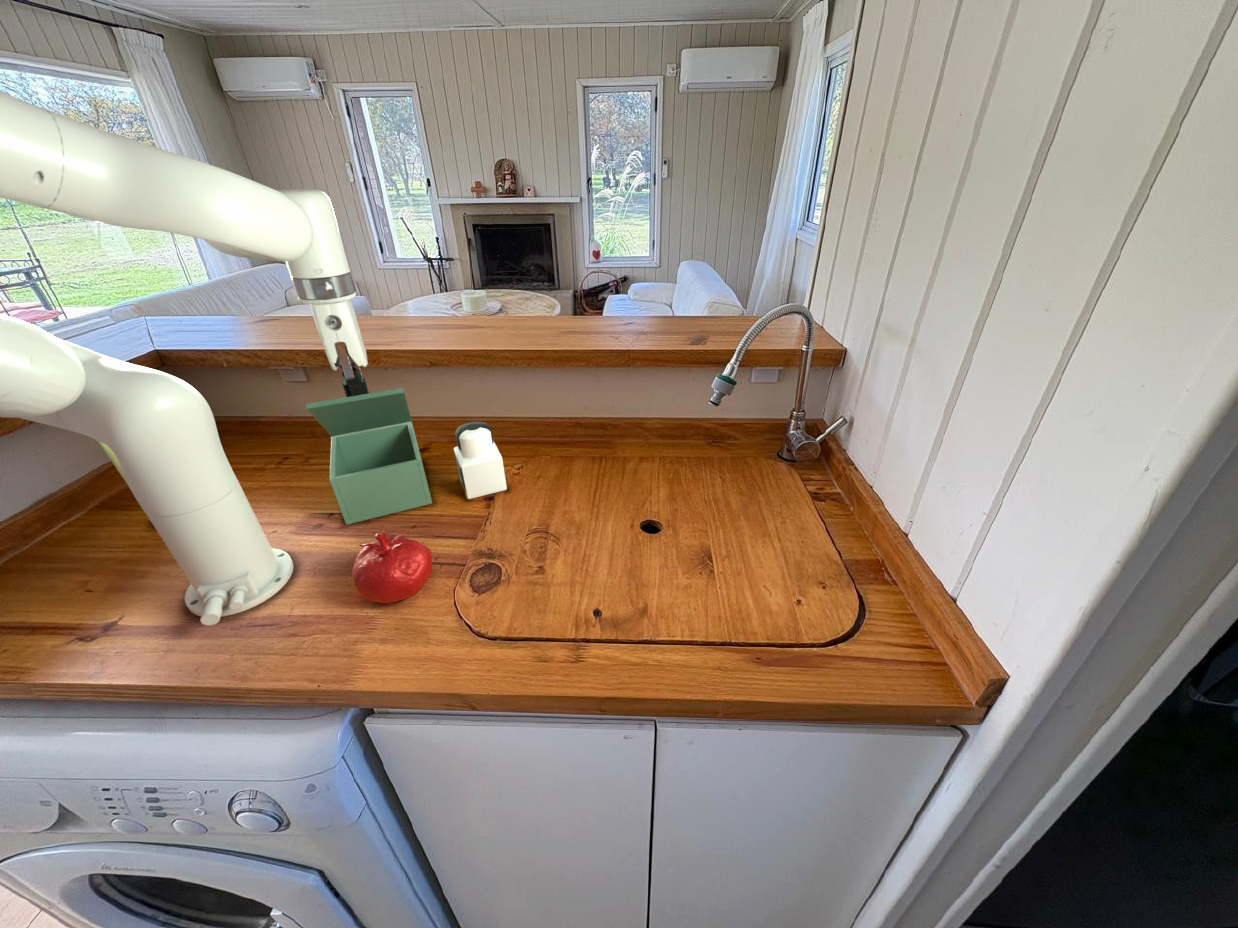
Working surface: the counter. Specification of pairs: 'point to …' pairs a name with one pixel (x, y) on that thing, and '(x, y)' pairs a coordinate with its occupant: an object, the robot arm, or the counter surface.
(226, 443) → the counter surface
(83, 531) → the counter surface
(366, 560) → the pomegranate
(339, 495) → the bin
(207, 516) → the robot arm
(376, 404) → the lid
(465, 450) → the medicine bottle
